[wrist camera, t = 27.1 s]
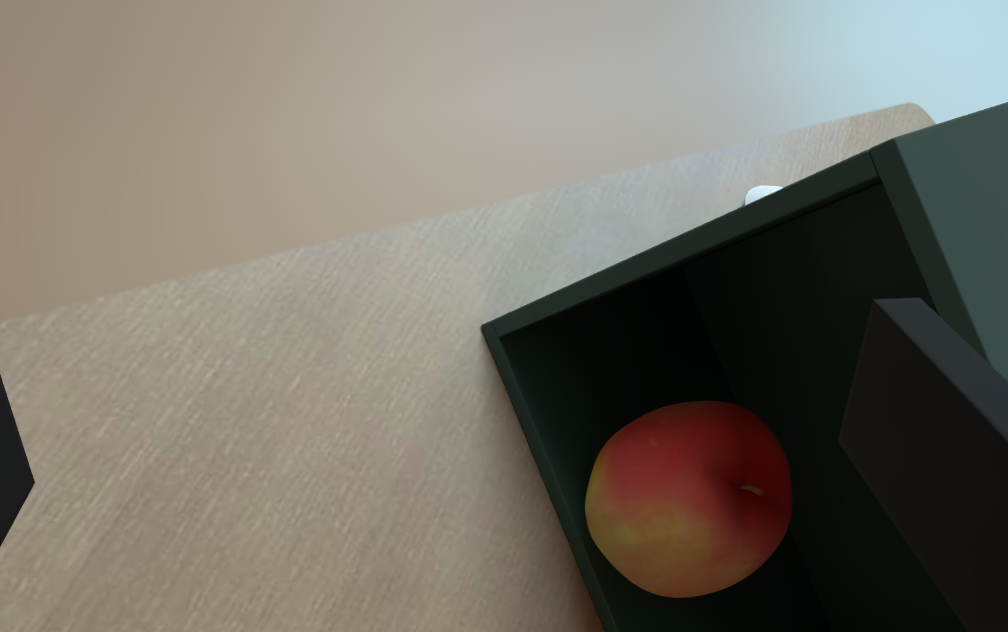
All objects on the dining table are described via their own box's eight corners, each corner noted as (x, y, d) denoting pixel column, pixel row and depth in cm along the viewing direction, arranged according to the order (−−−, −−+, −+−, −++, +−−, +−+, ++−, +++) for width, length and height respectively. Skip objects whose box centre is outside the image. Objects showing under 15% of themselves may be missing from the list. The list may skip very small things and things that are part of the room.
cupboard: (678, 814, 47) (1227, 918, 29) (480, 325, 48) (894, 137, 30) (833, 642, 59) (1289, 642, 41) (671, 254, 60) (1049, 88, 42)
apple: (540, 416, 48) (681, 373, 40) (662, 429, 53) (806, 393, 46) (552, 604, 45) (707, 596, 37) (681, 597, 50) (837, 589, 43)
